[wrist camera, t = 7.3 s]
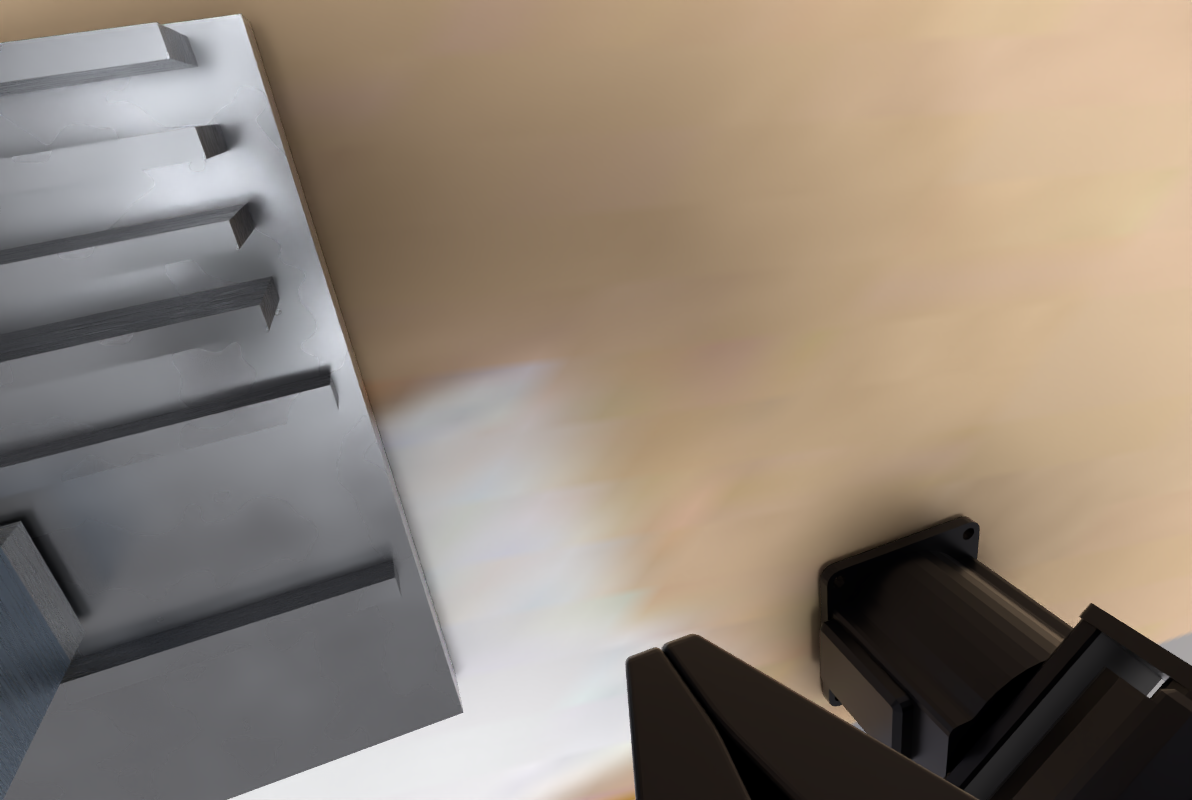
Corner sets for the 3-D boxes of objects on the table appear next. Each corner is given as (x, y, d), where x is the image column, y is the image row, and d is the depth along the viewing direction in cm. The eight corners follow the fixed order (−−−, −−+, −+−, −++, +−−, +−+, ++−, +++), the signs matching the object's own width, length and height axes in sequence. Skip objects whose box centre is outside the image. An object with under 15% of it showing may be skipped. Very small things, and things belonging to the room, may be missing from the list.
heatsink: (250, 22, 14) (214, -11, 10) (456, 676, 22) (481, 804, 18) (-516, 126, 12) (-964, 135, 8) (18, 832, 19) (-68, 1024, 15)
